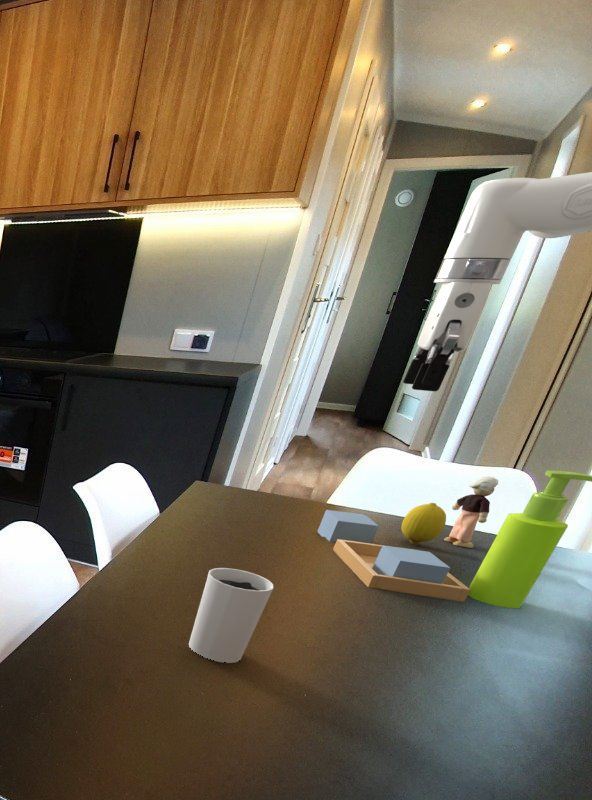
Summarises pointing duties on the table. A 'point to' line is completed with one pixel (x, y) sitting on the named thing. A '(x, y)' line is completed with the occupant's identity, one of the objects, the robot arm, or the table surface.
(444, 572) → the blue-grey block
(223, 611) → the white cup
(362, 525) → the blue-gray block
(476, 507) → the grandmother figurine
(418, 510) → the lemon
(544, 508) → the soap dispenser
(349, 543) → the wooden tray
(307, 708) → the table surface
